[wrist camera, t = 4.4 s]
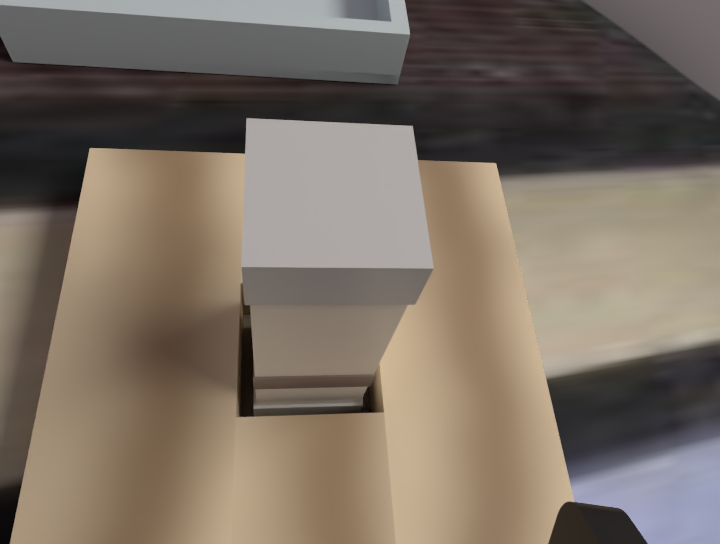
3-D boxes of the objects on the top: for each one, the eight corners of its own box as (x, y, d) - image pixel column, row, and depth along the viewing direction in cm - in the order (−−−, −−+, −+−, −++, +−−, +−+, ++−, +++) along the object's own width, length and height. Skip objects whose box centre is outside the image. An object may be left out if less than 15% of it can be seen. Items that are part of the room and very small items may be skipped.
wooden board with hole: (24, 650, 16) (-14, 660, 14) (106, 188, 24) (90, 147, 21) (559, 603, 18) (598, 604, 16) (477, 198, 26) (496, 163, 24)
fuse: (254, 421, 20) (241, 267, 10) (256, 325, 22) (246, 118, 12) (356, 417, 20) (433, 268, 11) (350, 325, 22) (412, 126, 13)
